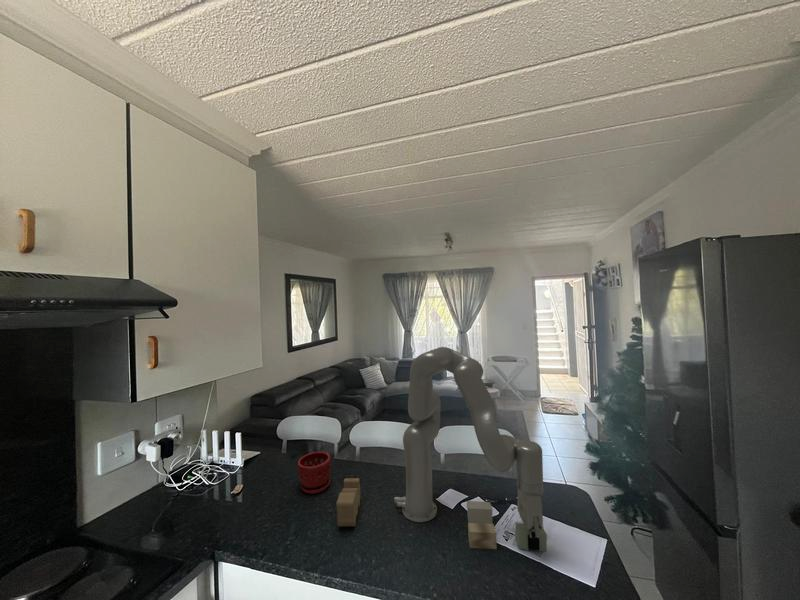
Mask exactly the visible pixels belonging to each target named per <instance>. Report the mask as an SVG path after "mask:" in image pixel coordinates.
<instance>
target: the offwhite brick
mask: <svg viewBox="0 0 800 600" xmlns="http://www.w3.org/2000/svg"><path fill="white" fill-rule="evenodd" d="M466 505H467V506H466V508H467V510H466V511H467V520H468V522H467V523H487V524H493V508H492V504H491V502H490V501H475V500H473V501H472V500H467V501H466Z"/></svg>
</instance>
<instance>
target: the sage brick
mask: <svg viewBox="0 0 800 600" xmlns="http://www.w3.org/2000/svg"><path fill="white" fill-rule="evenodd" d="M539 529H540V528H539ZM531 531H532V532H534V529H531ZM514 534H515V541H516V544H517V547H518V549H519V550H527V551H528V550H529V549H528V535H529V529H527V528H526V527H525V526H524V524H523V522H522V523H521V522H515V533H514ZM540 535H541V538H539V545H540V550H539V551H538V552H544V553H545V552H547V540H548V539H547V538H548V537H547V536H548V534H547V533H546V531H545V529H544V527H543V528H542V530H540ZM529 551H530V550H529ZM535 551H536V552H537V550H535Z"/></svg>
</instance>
